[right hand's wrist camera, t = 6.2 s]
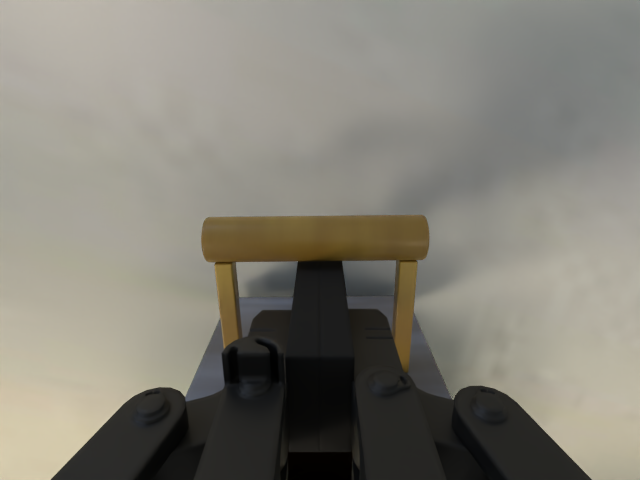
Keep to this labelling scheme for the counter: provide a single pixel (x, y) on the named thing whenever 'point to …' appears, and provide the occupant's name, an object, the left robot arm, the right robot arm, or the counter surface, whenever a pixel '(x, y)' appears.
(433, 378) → the drawer
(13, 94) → the counter surface
